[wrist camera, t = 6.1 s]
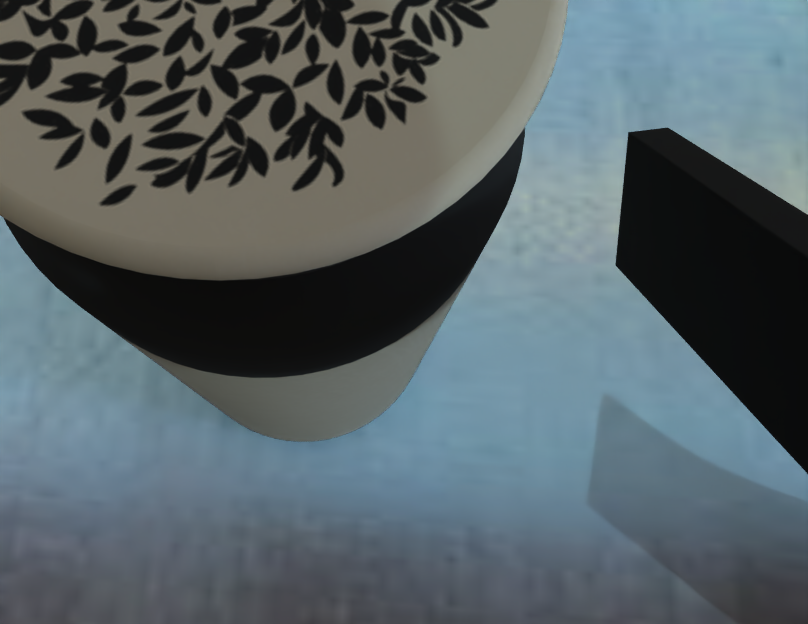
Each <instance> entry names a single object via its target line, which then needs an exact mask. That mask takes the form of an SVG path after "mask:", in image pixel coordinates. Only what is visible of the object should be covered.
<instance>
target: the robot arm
mask: <svg viewBox="0 0 808 624" xmlns="http://www.w3.org/2000/svg"><path fill="white" fill-rule="evenodd" d="M616 266H617V267H618V268H619V270H620V271H621V272H622V273H623V274H624V275H625V276H626V277H627V278H628V279H629V280H630V282H631V283H632V284H633V285H634V286H635V287H636V288H637V289H638V290H639V291H640V292H641V293H642V295H643V296H644V297H645V298H646V299H647V300H648V301H649V302H650V303H651V304H652V305H653V306H654V308H655V309H656V310H657V311H658V312H659V313H660V314H661V315H662V316H663V317H664V318H665V320H666V321H667V322H668V323H669V324H670V325H671V326H672V327H673V328H674V329H675V330H676V331H677V333H678V334H679V335H680V336H681V337H682V338H683V339H684V340H685V341H686V342H687V343H688V344H689V346H690V347H691V348H692V349H693V350H694V351H695V352H696V353H697V354H698V355H699V356H700V357H701V359H702V360H703V361H704V362H705V363H706V364H707V365H708V366H709V367H710V368H711V369H712V371H713V372H714V373H715V374H716V375H717V376H718V377H719V378H720V379H721V380H722V381H723V382H724V384H725V385H726V386H727V387H728V388H729V389H730V390H731V391H732V392H733V393H734V394H735V395H736V397H737V398H738V399H739V400H740V401H741V402H742V403H743V404H744V405H745V406H746V407H747V409H748V410H749V411H750V412H751V413H752V414H753V415H754V416H755V417H756V418H757V419H758V420H759V422H760V423H761V424H762V425H763V426H764V427H765V428H766V429H767V430H768V431H769V432H770V433H771V435H772V436H773V437H774V438H775V439H776V440H777V441H778V442H779V443H780V444H781V445H782V446H783V448H784V449H785V450H786V451H787V452H788V453H789V454H790V455H791V456H792V457H793V458H794V460H795V461H796V462H797V463H798V464H799V465H800V466H801V467H802V468H803V469H804V470H805V471H806V473H807V474H808V215H807V214H805V213H804V212H802V211H801V210H799V209H797V208H796V207H794V206H793V205H791V204H789V203H788V202H786V201H785V200H783V199H781V198H780V197H778V196H777V195H775V194H773V193H772V192H770V191H769V190H767V189H765V188H764V187H762V186H761V185H759V184H757V183H756V182H754V181H753V180H751V179H749V178H748V177H746V176H745V175H743V174H741V173H740V172H738V171H737V170H735V169H733V168H732V167H730V166H729V165H727V164H725V163H724V162H722V161H721V160H719V159H717V158H716V157H714V156H713V155H711V154H709V153H708V152H706V151H705V150H703V149H701V148H700V147H698V146H697V145H695V144H693V143H692V142H690V141H689V140H687V139H685V138H684V137H682V136H681V135H679V134H677V133H676V132H674V131H673V130H671V129H669V128H660V129H651V130H643V131H635V132H628V142H627V153H626V163H625V173H624V183H623V194H622V204H621V214H620V225H619V235H618V245H617V256H616Z"/></svg>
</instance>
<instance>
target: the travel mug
mask: <svg viewBox="0 0 808 624" xmlns="http://www.w3.org/2000/svg"><path fill="white" fill-rule="evenodd" d="M567 9H568V0H0V215H1V216H2V217H3V218H4V220H5V222H6V224H7V226H8V227H9V229H10V230H11V232H12V234H13V235H14V237H15V238H16V240H17V242H18V243H19V245H20V246H21V248H22V249H23V250H24V252H25V253H26V254H27V255H28V257H29V258H30V259H31V260H32V262H33V263H34V264H35V266H36V267H37V268H38V269H39V270H40V271H41V272H42V273H43V274H44V275H45V276H46V277H47V278H48V279H49V280H50V281H51V282H52V283H53V284H54V285H55V286H56V287H57V288H58V289H59V290H60V291H62V292H63V293H64V294H65V295H66V296H68V297H69V298H70V299H71V300H73V301H74V302H75V303H76V304H77V305H79V306H80V307H81V308H83V309H84V310H85V311H87V312H88V313H89V314H91V315H92V316H94V317H95V318H96V319H98V320H99V321H100V322H102V323H103V324H104V325H106V326H107V327H108V328H110V329H111V330H112V331H114V332H115V333H116V334H118V335H119V336H121V337H122V338H123V339H125V340H126V341H127V342H129V343H130V344H131V345H133V346H134V347H135V348H137V349H138V350H139V351H141V352H142V353H143V354H145V355H146V356H148V357H149V358H150V359H152V360H153V361H154V362H156V363H157V364H158V365H160V366H161V367H162V368H164V369H165V370H166V371H168V372H169V373H170V374H172V375H173V376H175V377H176V378H177V379H179V380H180V381H181V382H183V383H184V384H185V385H187V386H188V387H189V388H191V389H192V390H193V391H195V392H196V393H197V394H199V395H200V396H202V397H203V398H204V399H206V400H207V401H208V402H210V403H211V404H212V405H214V406H215V407H216V408H218V409H219V410H220V411H222V412H223V413H224V414H226V415H227V416H229V417H230V418H231V419H233V420H234V421H236V422H237V423H239V424H240V425H242V426H244V427H246V428H248V429H250V430H252V431H254V432H257V433H259V434H262V435H265V436H268V437H272V438H275V439H281V440H286V441H298V442H307V441H319V440H326V439H331V438H335V437H338V436H342V435H345V434H348V433H350V432H352V431H355V430H357V429H359V428H361V427H363V426H364V425H366V424H368V423H370V422H371V421H373V420H374V419H375V418H377V417H378V416H380V415H381V414H382V413H383V412H384V411H386V410H387V409H388V408H389V407H390V406H391V405H392V404H393V403H394V402H395V401H396V400H397V398H398V397H399V396H400V395H401V393H402V392H403V391H404V389H405V388H406V386H407V385H408V383H409V382H410V380H411V378H412V376H413V374H414V373H415V371H416V369H417V367H418V366H419V364H420V362H421V360H422V358H423V357H424V355H425V353H426V351H427V349H428V348H429V346H430V344H431V342H432V340H433V339H434V337H435V335H436V333H437V331H438V330H439V328H440V326H441V324H442V322H443V321H444V319H445V317H446V315H447V313H448V312H449V310H450V308H451V306H452V304H453V303H454V301H455V299H456V297H457V296H458V294H459V292H460V290H461V288H462V287H463V285H464V283H465V281H466V279H467V278H468V276H469V274H470V272H471V270H472V269H473V267H474V265H475V263H476V261H477V260H478V258H479V256H480V254H481V252H482V251H483V249H484V247H485V245H486V243H487V242H488V240H489V238H490V236H491V234H492V233H493V231H494V229H495V227H496V225H497V223H498V221H499V219H500V217H501V215H502V213H503V211H504V209H505V208H506V206H507V203H508V200H509V198H510V195H511V192H512V190H513V187H514V184H515V181H516V178H517V174H518V170H519V166H520V162H521V157H522V151H523V144H524V137H525V126H526V124H527V122H528V121H529V119H530V117H531V116H532V114H533V112H534V110H535V109H536V107H537V105H538V104H539V102H540V100H541V98H542V95H543V93H544V91H545V88H546V86H547V84H548V82H549V79H550V77H551V75H552V72H553V69H554V66H555V63H556V60H557V57H558V53H559V50H560V47H561V44H562V38H563V33H564V28H565V23H566V18H567Z"/></svg>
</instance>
